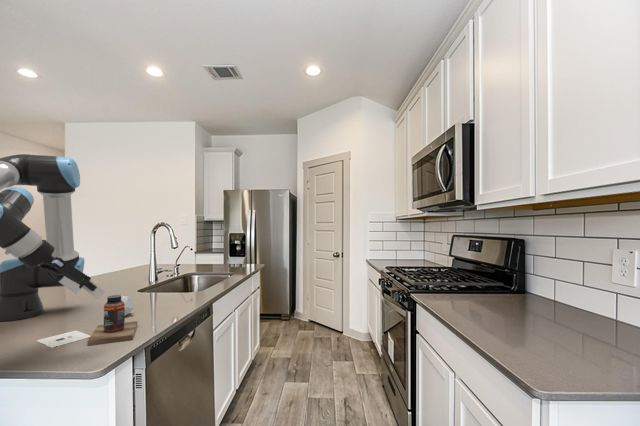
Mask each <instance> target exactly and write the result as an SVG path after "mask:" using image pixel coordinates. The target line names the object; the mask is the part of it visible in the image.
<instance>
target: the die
mask: <svg viewBox="0 0 640 426" xmlns="http://www.w3.org/2000/svg"><path fill="white" fill-rule="evenodd" d="M121 298H122V299H121V300H122V301H123V302H124V304H125V317H126V316H128V314H129V315H130V312H132V311H133V310H134V305H133V302H132V301H133V300H131V298H130V296H126V295H125V296H124V295H121Z"/></svg>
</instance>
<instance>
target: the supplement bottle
mask: <svg viewBox="0 0 640 426" xmlns="http://www.w3.org/2000/svg"><path fill="white" fill-rule="evenodd" d="M121 296H122V295H121V294H114V295H108V296H107V302H106V303H105V304H104V305H103V325H104V331H105V332H116V331H120V330H122V329H123V328H124V325H125V317H126V316H125V304H124V302H123V301H122V300H121V299H122V298H121Z"/></svg>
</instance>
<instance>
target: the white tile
mask: <svg viewBox="0 0 640 426" xmlns="http://www.w3.org/2000/svg"><path fill="white" fill-rule="evenodd" d="M90 336H91V334H90V335H89V334H87V333H84V332H82V331H79V330H73V331H68V332H65V333H61V334H56V335H53V336H48V337H44V338H40V339H37V340H35V341H36V342H38V343H40V344H42V345H44V346H47V347H48V348H51V349H52V348H56V346H57V347H60V346H63V345H67V344H70V343H74V342H78V341H81V340H82V341H83V340H84V339H89V338H90Z"/></svg>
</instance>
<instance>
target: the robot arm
mask: <svg viewBox="0 0 640 426" xmlns="http://www.w3.org/2000/svg"><path fill="white" fill-rule="evenodd" d="M80 173H81V172H80V170H79V166H78V165H77V162H76V160H74V159H73V158H72V157H65V156H60V155H59V156H58V155H40V154H27V153H23V154H22V153H21V154H20V153H19V154H13V155H7V156H3V157H0V248H1V249H3V250H5V251H4V254H5V255H11V256H13V257H14V258H10V259H6V260H3V261H1V263H0V322H9V321H18V320H25V319H29V318H33V317H36V316H40V315H41V314H43V313H44V305H43V302H42V300H41V298H40V297H41V296H40V295H39V289H44V288H58V287H65V288H67V289H68V290H69V291H71V292H72V293H74V294H75V295H77V293H79V292H80V291H81V290H82V289H83V290H84V291H85V292H87V293H88V294H90V295H91V296H92V297H93V298H95V299H96V300H99V299H101V297H102V296H103V295H104V294H105V293H106V291H105V290H104V289H102V288H101V287H100V286H98V285H97V284H96V283H94V281H92V278H91V277H90V276H89V275H87V274H85V273H84V268H85V258H84V257H81V256H80V254H79V253H80V252H79V251H77V250H75V246H74V244H75V243H74V242H75V241H74V225H73V209H72V195H73V194H74V193H75V192H76V188H77V189H78V188H79V187H80V184H81V175H80ZM18 186H19V187H18ZM20 186H30V187H36V192H37V193H38V194H40V195H41V196H42V202H43V213H44V228H45V238H46V239H43V237H42V236H41V235H40V234H38V233H37V232H36V231H35V230H34V229H32V228H31V227H29V226H28V225H26V224H25V223H24V222H23V219H25V216H26V215H27V214H28V213H29V212H30V211H31V209H32V208H33V207H32V206H33V205H34V201H35V200H34V196H33V194H32V193H31V192H30V191H28V190H27V189H25V188H22V187H20ZM3 189H4V190H3Z"/></svg>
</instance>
